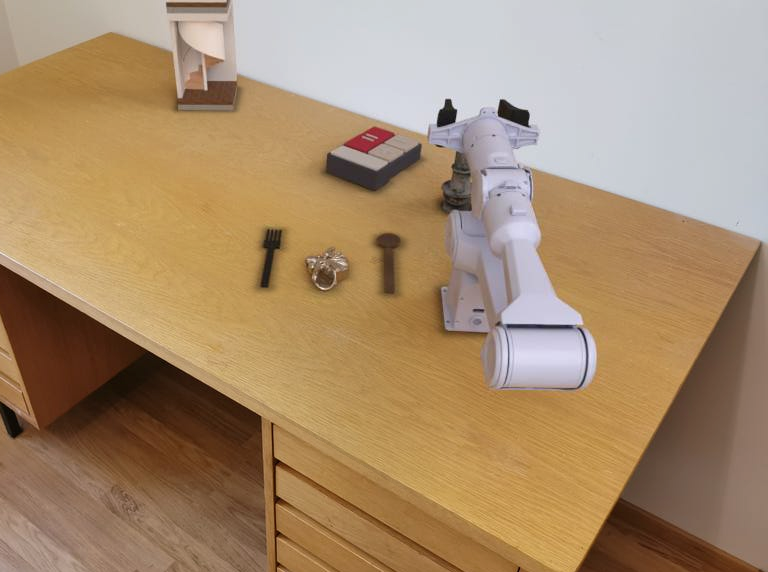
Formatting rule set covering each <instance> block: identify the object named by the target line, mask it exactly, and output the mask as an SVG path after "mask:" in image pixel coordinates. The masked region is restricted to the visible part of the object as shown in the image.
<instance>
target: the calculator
mask: <svg viewBox="0 0 768 572" xmlns="http://www.w3.org/2000/svg"><path fill="white" fill-rule="evenodd" d="M422 147H423V144H422V143H420V141H419V140H416V139H413V138H411V137H407V136H405V135H401V134H395V132H392V131H391V130H387V129H384V128H382V127H381V128H380V127H378V126H376V125H375V126H372V127H370V128H369V129H367V130H364V131H363V132H361V133H359V134H358V135H356V136H354V137H352V138H351V139H348V140H347V141H345V142H344V143H343V144H342V145H339V146H338V147H336V148H334V149H333V150H331V151H329V152H327V154H326V165H325V166H326V167H325V172H326V173H327V174H330V175H333V176H334V177H338V178H340V179H342V180H345V181H348V182H351V183H353V184H356V185H359V186H361V187H363V188H366V189H369V190H371V191H378V190H379V189H381V188H383V187H384V186H385V185H387V184H388V183H389V181H390V180H391V179H392V178H394V177H395V176H396V175H398V174H400V173H401V172H403V171H404V170H406V169H407V168H409V167H410V166H411V165H413V164H415V163H416V162H418V161H420V159H421V154H422Z"/></svg>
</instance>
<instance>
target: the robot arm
mask: <svg viewBox="0 0 768 572" xmlns="http://www.w3.org/2000/svg"><path fill="white" fill-rule="evenodd" d="M457 115H458V109H457V108H455V107H454V106H453V101H452V99H451V98H445V99H444V105H443V107H442V108H440V109H439V110H438V113H437V116H436V117H437V118H436V123H429V124H428V128H427V142H428V144H429V145H435V146H436V147H437V148H447V149H450V150H451V151H454V152H456V151H458V152H460V153H463V154H465V155H466V158H467V162H468V166H469V169H470V173H471V181H472V189H471V201H470V204H471V206H472V210H471V211H458V210H453V211H452V212H451V213H450V214H449V213H448V215H447V217H446V221H445V228H444V229H445V230H444V247H445V252H446V254H447V255H448V257H449V258H450V262H452V263H451V268H450V273H449V280H448V286H442V287H441V288H440V294H441V304H442V305H441V306H442V314H443V315H442V316H443V325H444V330H446V331H447V332H449V331H452V332H472V333H487V335H486V337H485V340H484V341H483V344H482V345H481V347H480V350H479V351H480V352H479V358H480V363H481V366H482V371H483V376H484V381H485V384H486V386H487V388H488V390H489V391H508V390H509V391H511V390H512V391H513V390H515V391H559V392H577V391H582V390H584V389H586V388H587V387H588V386H589V385H590V383H591V382H592V380H593V379H594V377H595V373H596V370H597V364H598V363H597V362H598V361H597V360H598V352H597V345H596V342H595V338H594V336H593V335H592V333H590V331H589V330H588V328H587V327H584V326H583V325H584V321H583V317H582V315H581V313H580V312H579V311H577V310H576V309H575V308H573V307H571V306H570V305H569V304H567V303H566V302H564V301H563V300H562V299H560V298H558V296H557V293H556V291H555V289H554V287H553V285H552V282H551V280H550V277H549V276H548V273H547V271H546V269H545V267H544V265H543V263H542V261H541V258H540V256H539V254H538V252H537V249H538V248H539V246H540V244H541V241H542V232H541V230H540V227H539V224H538V221H537V217H536V214H535V211H534V209H533V203H532V202H533V198H534V180H533V172H532V170H531V169H530V168H529V167H524V163H518V161H517V158H516V156H515V153H514V150H519V149H520V148H523V147H528V146H537V145H538V142H539V138H540V134H541V130H540V128H539V126H538V124H530V123H529V122H530V118H531V113H530V111H529V109H523V108H519V107H517V106H515V105H513V104H511V103H510V102H509V101H507V100H506V99H505V98H500V99H499V102H498V106H497V109H496V108H495V107H490V106H489V107H482V108H480V110H479V113H478V115H475V116H472V117H469V118H466V119H463V120H459V121H457Z"/></svg>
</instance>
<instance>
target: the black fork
mask: <svg viewBox="0 0 768 572" xmlns="http://www.w3.org/2000/svg"><path fill="white" fill-rule="evenodd" d="M282 233H283V230H282V229H269V228H267V230H266V234H265V239H264V241H263V245H262V246H263V247H262V248H263V249H267V250H266V255H265V261H264V266H263V271H262V277H261V281H260V288H265V289H267V288H269V285H270V278H271V274H272V269H273V262H274V255H275V250H280V248H281V245H282V244H281V239H282Z"/></svg>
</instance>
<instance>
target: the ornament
mask: <svg viewBox="0 0 768 572" xmlns="http://www.w3.org/2000/svg"><path fill="white" fill-rule="evenodd" d="M334 251H336V246H330V247H329V248H327V250H326V251H324V252H323V253H322V255H321V254H319V253H318V254H315V255H313V254H312V255H308V256H307V257H306V258H305V259H304V266H305V268H306V269H307V272H308V273H309V274H310V275H311V280H312V283H313V284H314V285H315V287H316V288H317V289H318V290H320V291H324V292H326V291H327V292H328V291H331V290H333V288H334V287H337V285H338V282H340V281H343V280H344V279H346V278H348V277H349V271H350V265H349V259H348V258H347V257H346V256H344V255H343V253H342V252H341V251H338V252H337V253H336V254H335V252H334ZM321 274H322V275H326V276H327V277H328V278H329V279H331V280H330V281H327V280H325V279H323V278H322V275H321Z"/></svg>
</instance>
